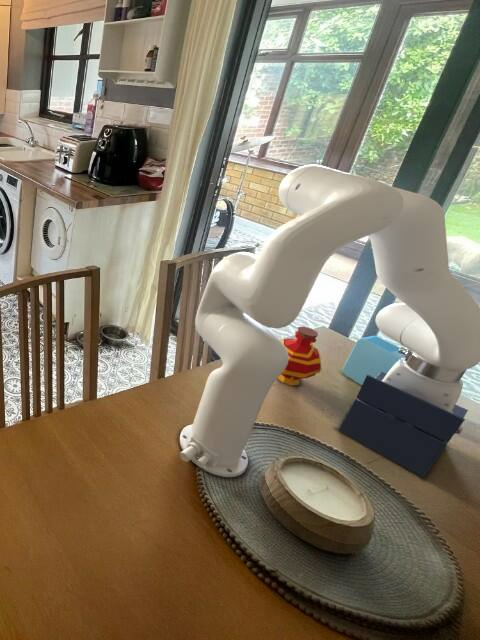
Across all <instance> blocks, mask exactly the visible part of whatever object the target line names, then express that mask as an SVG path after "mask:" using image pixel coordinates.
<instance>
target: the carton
mask: <svg viewBox="0 0 480 640" xmlns="http://www.w3.org/2000/svg"><path fill="white" fill-rule="evenodd" d="M385 376H386V373H383V372H381V373H380V374H379V375H378V376H377V377H376V379H379V380H383V379H384V377H385ZM468 411H469V409H467V408H464V407H462V406H460V405H457V404H455V406H454V408H453V410H452V412H453V414H455V415H457V416H459V417H462V418H464V419H465V417H466V414H467V412H468ZM338 431H339V432H340V433H342V434H344V435H346V436H348V437H349V438H350V439H353V440H354V441H356V442H358V443H360V444H361V445H364V447H367V448H369V449H370V450H372V451H374V452H376V453H377V454H379V455H381V456H383V457H384V458H387V459H388V460H389V461H392V462H394V463H395V464H397V465H399V466H401V467H402V468H405V470H408V471H410V472H411V473H413V474H415V475H417V476H418V477H420V478H422V479H424V477H425V476H426V474H427V473H428V472H429V470H430V469H431V467H432V466H433V464H434V463H435V462H436V461H437V459H438V458H439V456H440V455H441V454H442V452H443V451H444V450H445V449H446V447H447V446H448V443H449V442H448V443H447V442H445V441H443V440H441V439H439V438H437V437H435V436H433V435H431V434H429V435H428V434H426V433H424V432H422V431H420V430H418V428H417V427H415V426H414V427H412V426H410V425H408V424H406V423H404V422H402V421H400V420H398V419H396V418H394V417H392V416H390V415H388V414H387V412H385V411H384V412H382V411H380V410H378V409H376V408H374V407H373V405H371V404H369V403H367V402H365V401H363V400H361V399H359V398H357V397H356V398H354V400H353V402H352V404H351V406H350V408H349V410H348V412H347V413H346V415H345V417H344V418H343V421H342V423H341V425H340V426H339V427H338Z"/></svg>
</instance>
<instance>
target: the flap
mask: <svg viewBox="0 0 480 640" xmlns="http://www.w3.org/2000/svg"><path fill="white" fill-rule="evenodd" d="M356 398H359V399H361V400H363V401H365V402H367V403H369V404H371V405H373V406H375V407H377V408H379V409H381V410H383V411H385V412H387V413H389V414H391V415H393V416H395V417H397V418H399V419H401V420H403V421H405V422H407V423H409V424H411V425H413V426H415V427H417V428H419V429H421V430H423V431H425V432H427V433H429V434H431V435H433V436H435V437H437V438H439V439H441V440H443V441H445V442H447V443H450V441H451V440H452V438H453V437H454V435H455V432H456V431H457V430H458V428H459V427H460V426H461V427H462V424H463V423H464V421H465V420H466V419H465V417H464V418H462V417H459V416H457V415H455V414H453V413H451V412H449V411H446V410H444V409H442V408H440V407H438V406H435V405H433V404H431V403H429V402H427V401H424V400H422V399H420V398H418V397H416V396H414V395H411V394H409V393H407V392H405V391H403V390H400V389H398V388H396V387H394V386H392V385H389V384H387V383H385V382H383V381H381V380H379V379H376V378H374V377H372V376H370V375H367V376H366V378H365V380H364V382H363V384H362V386H361V385H360V389H359V391H358V393H357V395H356Z"/></svg>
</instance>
